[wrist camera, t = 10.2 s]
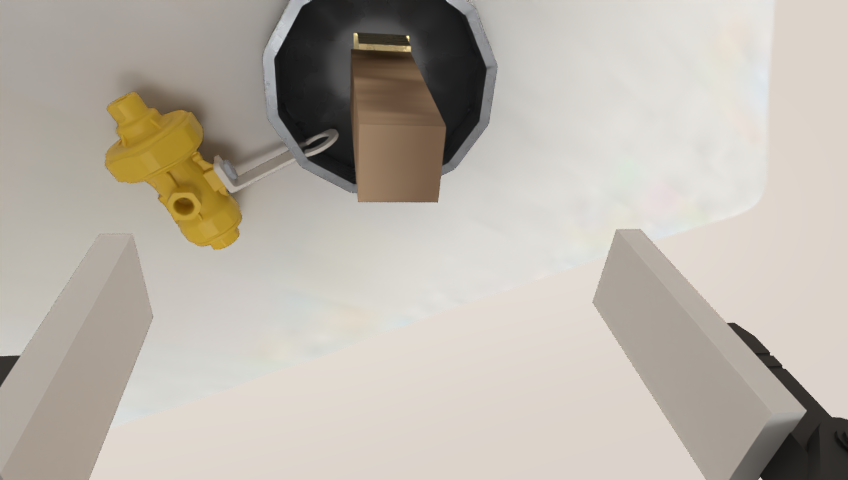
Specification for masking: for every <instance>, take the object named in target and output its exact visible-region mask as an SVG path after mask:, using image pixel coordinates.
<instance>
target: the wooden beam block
mask: <svg viewBox="0 0 848 480" xmlns="http://www.w3.org/2000/svg"><path fill="white" fill-rule="evenodd" d="M350 111H351V123H352V135H353V147H354V159H355V171H356V183H357V195H358V202H438V197H439V188H440V179H441V170H442V161H443V152H444V143H445V134H446V125H445V123H444V121H443V119H442V117H441V115H440V113H439V110H438V108H437V106H436V104H435V102H434V100H433V98H432V96H431V94H430V92H429V90H428V88H427V85H426V83H425V81H424V79H423V77H422V75H421V73H420V71H419V69H418V67H417V65H416V62H415V60H414V58H413V56H412V54H411V52H401V51H381V50H361V49H351V73H350Z"/></svg>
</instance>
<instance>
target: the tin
mask: <svg viewBox="0 0 848 480" xmlns="http://www.w3.org/2000/svg"><path fill="white" fill-rule="evenodd" d="M351 49H361V50H381V51H401V52H411V54H412V56H413V58H414V60H415V62H416V65H417V67H418V69H419V71H420V73H421V75H422V77H423V79H424V81H425V83H426V85H427V88H428V90H429V92H430V94H431V96H432V98H433V100H434V102H435V104H436V106H437V108H438V110H439V113H440V115H441V117H442V119H443V121H444V123H445V125H446V134H445V143H444V152H443V161H442V170H441V176H442V175H444V174H446V173H448V172H450V171H452V170H454V168H456V167H457V166H458V164H459V163H460V162H461V160H462V159H463V158H464V156H465V155H466V154H467V152H468V151H469V150H470V148H471V147H472V146H473V144H474V143H475V142H476V140H477V139H478V138H479V136H480V135H481V134H482V132H483V131H484V130H485V128H486V127H487V126H488V124H489V119H490V112H491V106H492V100H493V93H494V87H495V80H496V74H497V63H496V60H495V58H494V55H493V53H492V50H491V47H490V45H489V42H488V40H487V37H486V34H485V32H484V29H483V27H482V24H481V21H480V19H479V16H478V14H477V11H476V8H475V7H474V6H473V5H471V4H470V3H469V2H468V1H467V0H289V2H288V4H287V6H286V8H285V9H284V11H283V13H282V15H281V17H280V19H279V21H278V23H277V25H276V27H275V29H274V31H273V33H272V35H271V36H270V38H269V40H268V43H267V45H266V47H265V50H264V52H263V55H262V59H263V71H264V84H265V97H266V110H267V117H268V120H269V121H270V123H271V124H272V126H273V127H274V129H275V130H276V132H277V133H278V135H279V136H280V137H281V139H282V140H283V142H284V143H285V145H286V146H287V148H288V149H289V151H290V152H291V153H292V155H293V156H294V158H295V159H296V161H297V162H298V164H299V165H300V166H301V167H302V168H304V169H306V170H308V171H310V172H312V173H313V174H315V175H317V176H319V177H321V178H323V179H325V180H327V181H329V182H331V183H333V184H335V185H337V186H339V187H341V188H343V189H344V190H346V191H348V192H351V191H352V193H357V183H356V171H355V159H354V147H353V135H352V123H351V111H350V73H351ZM329 129H335V130H337V132H338V138H337V140H336V141H335V142H334V143H333V144H332V145H331V146H330V147H328V148H326V149H325V150H323V151H321V152H319V153H317V154H315V155H312V156H309V157H306V156H305V150H306V149H312V148H315V147H317V146H319V145H320V144H322V143H323V142H325V141H326V140H327V139H328V137H329V136H325V137H321V138H319V139H316V140H315V141H313V142H311V143H310V144H309V145H307V144H306V139H309V138H311V137H313V136H315V135H318V134H320V133H322V132H324V131H327V130H329Z"/></svg>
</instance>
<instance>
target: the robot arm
mask: <svg viewBox="0 0 848 480" xmlns="http://www.w3.org/2000/svg"><path fill="white" fill-rule="evenodd" d="M593 304H594V305H595V307H596V309H597V310H598V312H599V313H600V315H601V316H602V318H603V320H604V321H605V323H606V324H607V326H608V327H609V329H610V330H611V332H612V334H613V335H614V337H615V338H616V340H617V341H618V343H619V344H620V346H621V347H622V349H623V351H624V352H625V354H626V355H627V357H628V359H629V360H630V362H631V363H632V365H633V366H634V368H635V369H636V371H637V372H638V374H639V376H640V377H641V379H642V380H643V382H644V384H645V385H646V387H647V388H648V390H649V391H650V393H651V394H652V396H653V397H654V399H655V401H656V402H657V404H658V405H659V407H660V409H661V410H662V412H663V413H664V415H665V416H666V418H667V419H668V421H669V422H670V424H671V426H672V427H673V429H674V430H675V432H676V433H677V435H678V437H679V438H680V440H681V441H682V443H683V444H684V446H685V447H686V449H687V450H688V452H689V454H690V455H691V457H692V458H693V460H694V462H695V463H696V465H697V466H698V468H699V469H700V471H701V472H702V474H703V475H704V477H705V479H706V480H758V479H759V478H760V477H761V478H762V480H848V420H847V419H843V418H835V417H831V416H830V415H829V414H828V413H827V412H826V411H825V410H824V409H823V408H822V407H821V406H820V404H819V403H818V402H817V401H816V400H815V399H814V398H813V397H812V396H811V395H810V394H809V393H808V392H807V391H806V390H805V389H804V388H803V387H802V386H801V385H800V384H799V382H798V381H797V380H796V379H795V378H794V377H793V376H792V375H791V374H790V373H789V372H788V371H787V370H786V369H783V368H782V365H781V363H779V361H778V360H777V359H776V358H775V357H774V356H770V352H769V351H768V350H767V349H766V348H765V347H764V346H763V345H762V344H761V342H760V341H759V340H758V339H757V338H756V337H755V336H753V335H752V334H750V333H749V332H747V331H746V330H744V329H743V328H741V327H740V326H738V325H737V324H735V323H726V322H725V321H724V320H723V319H722V318H721V317H720V316H719V314H718V313H717V312H716V311H715V310H714V309H713V308H712V307H711V306H710V305H709V303H708V302H707V301H706V300H705V299H704V298H703V297H702V296H701V295H700V294H699V293H698V291H697V290H696V289H695V288H694V287H693V286H692V285H691V284H690V283H689V282H688V281H687V279H686V278H685V277H684V276H683V275H682V274H681V273H680V272H679V271H678V270H677V269H676V267H675V266H674V265H673V264H672V263H671V262H670V261H669V260H668V259H667V258H666V257H665V255H664V254H663V253H662V252H661V251H660V250H659V249H658V248H657V247H656V246H655V245H654V244H653V242H652V241H651V240H650V239H649V238H648V237H647V236H646V235H645V234H644V233H643V231H642V230H641V229H616V232H615V235H614V238H613V241H612V244H611V247H610V250H609V253H608V257H607V260H606V263H605V266H604V269H603V272H602V275H601V278H600V281H599V284H598V287H597V290H596V293H595V296H594V299H593ZM152 319H153V314H152V310H151V306H150V302H149V298H148V294H147V290H146V286H145V282H144V278H143V274H142V270H141V266H140V261H139V257H138V253H137V249H136V245H135V241H134V237H133V234H99V235H98V237H97V238H96V240H95V241H94V243H93V244H92V246H91V248H90V249H89V251H88V252H87V254H86V255H85V257H84V258H83V260H82V261H81V263H80V265H79V266H78V268H77V269H76V271H75V272H74V274H73V275H72V277H71V278H70V280H69V282H68V283H67V285H66V286H65V288H64V289H63V291H62V292H61V294H60V295H59V297H58V299H57V300H56V302H55V303H54V305H53V306H52V308H51V309H50V311H49V312H48V314H47V316H46V317H45V319H44V320H43V322H42V323H41V325H40V326H39V328H38V330H37V331H36V333H35V334H34V336H33V337H32V339H31V340H30V342H29V343H28V345H27V347H26V348H25V350H24V351H23V353H22V354H21V356H0V480H89V478H90V475H91V473H92V470H93V468H94V465H95V463H96V460H97V458H98V455H99V453H100V450H101V448H102V445H103V443H104V440H105V438H106V435H107V433H108V430H109V428H110V425H111V423H112V420H113V418H114V415H115V413H116V410H117V408H118V405H119V402H120V400H121V397H122V395H123V392H124V390H125V387H126V385H127V382H128V380H129V377H130V375H131V372H132V370H133V367H134V365H135V362H136V360H137V357H138V355H139V352H140V350H141V347H142V345H143V342H144V339H145V337H146V334H147V332H148V329H149V327H150V324H151V322H152Z"/></svg>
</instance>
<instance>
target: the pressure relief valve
mask: <svg viewBox="0 0 848 480" xmlns="http://www.w3.org/2000/svg"><path fill="white" fill-rule="evenodd" d="M107 111H108V112H109V113H110V114H111V116H112V117H113V118H114V119H115V121H116V122H117V123H118V127H117V128H116V132H117V134H118V135H119V136H120V138H121V139H120V140H118V141H117V142H116V143H115V144H114V145H112V146H111V147H110V148H109V150H108V151H107V153H106V160H105V166H106V168H107V169H108V170H109V171H110V172H111V174H112V175H113V176H114V177H115V178H116V180H117V181H118V182H127V183H138V182H144V181H146V182H147V183H149V184H150V185H152V186H153V187H154V188H155V189H156V190H157V192H158V193H159V197H158V199H159V201H160V202H161V203H163V204H164V205H165V207H166V208H167V210H168V211H169V212H170V214H171V215H172V217H173V219H174V221H175V222H176V223H177V224H178V226H179V227H180V230H181V232H182V233H183V235H184V236H185V237H186V238H187V240H188V241H190V242H192V243H195V244H196V245H197V246H208V245H211V246H212V247H213V249H214V250H215V249H222V248H225V247H227V246H229V245H231V244H232V243H233V242H234V241H235V240H236V239H237V238H238V237H239V234H240V233H239V229H238V228H237V226H238V225H239V224H240V222H241V220H242V215H241V211H240V206H239V205H238V203H237V202H236V201H235V199H234V198H233V197H231V196H230V194H229V193H227V190H226V188H227V189H228V191H229V192H230V193H234V192H236V191H238V190H240V189H242V188H244V187H246V186H248V185H250V184H252V183H254V182H256V181H258V180H260V179H262V178H263V177H265V176H267V175H269V174H271V173H273V172H275V171H277V170H279V169H281V168H283V167H285V166H287V165H289V164H291V163H293V162H294V161H296V159H295V158H294V156H293V155H292V153H291V152H290V151H289V150H288V151H287V152H285V153H283V154H281V155H279V156H277V157H275V158H273V159H271V160H269V161H267V162H265V163H263V164H261V165H259V166H257V167H255V168H253V169H252V170H250V171H248V172H246V173H244V174H242V175H240V176H238V177H237V173H236V170H235V169H234V167H233V165H232V164H231V163H230V161H228V160H227V159H226V160H224V161H223V160H222V159H221V157H220V156H219V155H217V156H215V157H213V159H214V164H211V163H208V162H206V161H205V160H203V157H202V155H201V154H200V152H197V149H198V147H199V145H200V144H201V142H202V140H203V128H202V126H201V125H200V123H199V122H198V120H197V119H196V118H195V116H194V115H193V113H192V112H186V111H184V110H176V111H172V112H169V113H166V114H164V115H161V114H160V113H159V112H158V110H156V109H155V108H148V107H147V106H146V105H145V103H144V102H143V101H142V99H141V98H140V96H139V95H138V94H137V93H136V92H132V93H129V94H126V95H124V96H122V97H120V98H118V99H117V100H115V101H113V102H112V103H110V104H109V105H108V106H107ZM325 136H329V137H328V139H327V140H326V141H325V142H323V143H322V144H320V145H319V146H317V147H315V148H312V149H306V150H305V156H306V157H309V156H312V155H315V154H317V153H319V152H321V151H323V150H325V149H326V148H328V147H330V146H331V145H332V144H333V143H334V142H335V141H336V140H337V138H338V132H337V130H335V129H329V130H327V131H324V132H322V133H320V134H318V135H315V136H313V137H311V138H309V139H306V144H307V145H309V144H310V143H311V142H313V141H315V140H316V139H319V138H321V137H325Z"/></svg>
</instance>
